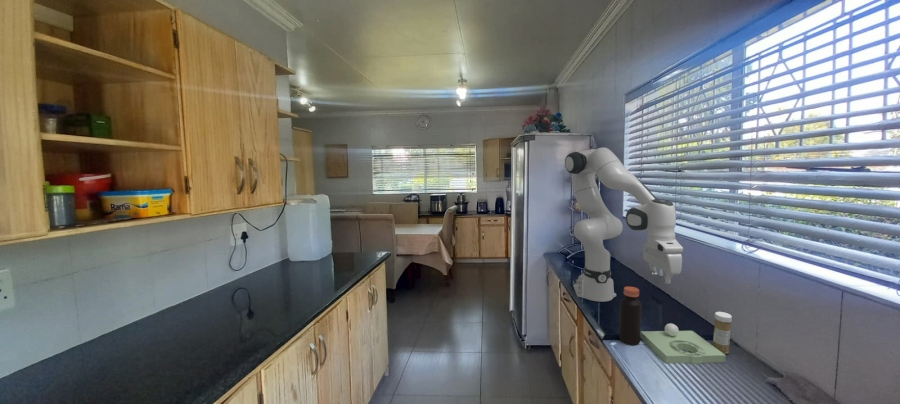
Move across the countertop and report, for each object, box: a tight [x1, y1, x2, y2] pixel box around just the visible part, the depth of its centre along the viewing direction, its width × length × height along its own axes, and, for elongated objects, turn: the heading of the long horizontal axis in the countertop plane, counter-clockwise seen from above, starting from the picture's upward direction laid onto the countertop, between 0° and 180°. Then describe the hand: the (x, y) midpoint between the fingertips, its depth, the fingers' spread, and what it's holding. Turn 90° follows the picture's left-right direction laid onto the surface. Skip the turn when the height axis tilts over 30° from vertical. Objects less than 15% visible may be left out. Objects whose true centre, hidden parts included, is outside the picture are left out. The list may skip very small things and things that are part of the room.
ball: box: [664, 323, 680, 336], centre depth 123 cm, size 4×4×4 cm
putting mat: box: [640, 330, 727, 365], centre depth 119 cm, size 16×19×2 cm
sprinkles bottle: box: [712, 311, 733, 355], centre depth 116 cm, size 5×5×14 cm
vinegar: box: [618, 286, 643, 346], centre depth 124 cm, size 7×7×20 cm
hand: (660, 278), depth 129 cm, fingers open, 8 cm apart
